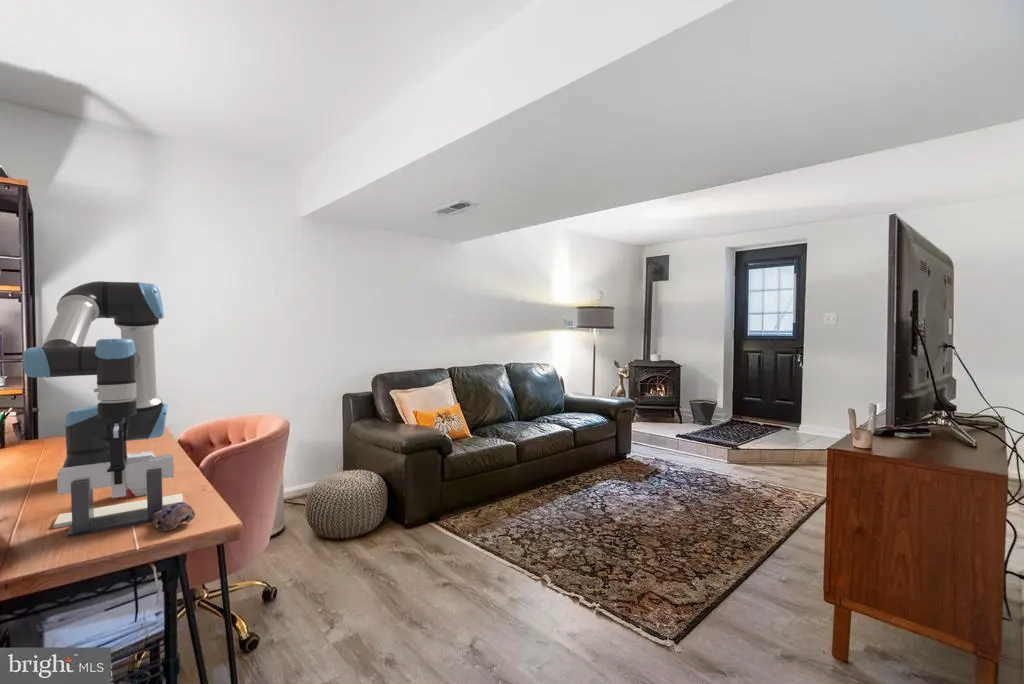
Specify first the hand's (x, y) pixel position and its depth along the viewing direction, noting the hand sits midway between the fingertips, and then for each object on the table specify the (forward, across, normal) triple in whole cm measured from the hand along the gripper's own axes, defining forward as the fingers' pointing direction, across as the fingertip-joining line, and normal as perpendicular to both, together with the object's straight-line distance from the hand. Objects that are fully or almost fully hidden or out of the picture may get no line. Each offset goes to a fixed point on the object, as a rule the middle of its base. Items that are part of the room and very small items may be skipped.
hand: (119, 493), depth 120 cm
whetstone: (-3, 0, 0) cm, 3 cm away
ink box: (+8, -24, +2) cm, 25 cm away
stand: (+7, 0, 0) cm, 7 cm away
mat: (+7, -9, 0) cm, 12 cm away
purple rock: (+8, +10, +10) cm, 16 cm away
